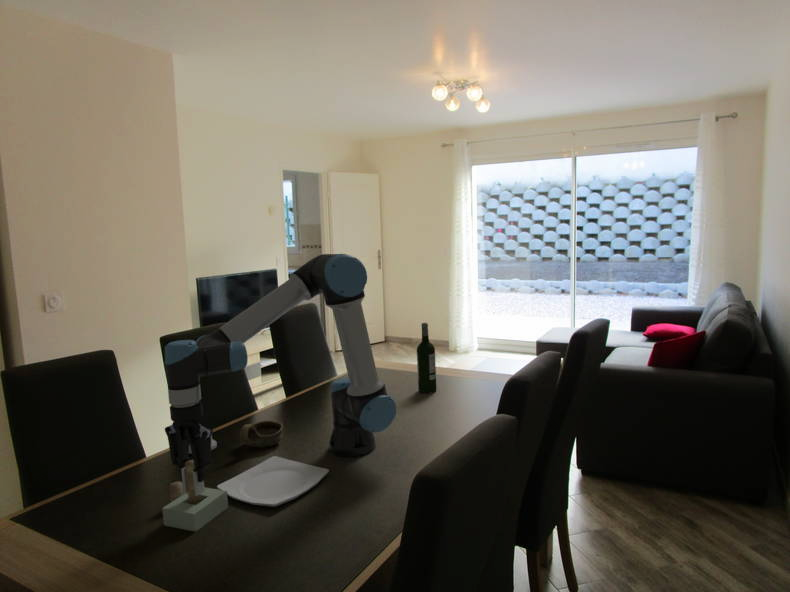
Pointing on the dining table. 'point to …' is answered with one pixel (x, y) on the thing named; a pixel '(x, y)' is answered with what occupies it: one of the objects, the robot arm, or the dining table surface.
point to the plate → (273, 482)
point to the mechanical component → (213, 445)
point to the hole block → (195, 510)
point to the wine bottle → (426, 363)
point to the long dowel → (191, 483)
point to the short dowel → (176, 490)
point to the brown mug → (262, 433)
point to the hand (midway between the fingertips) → (194, 492)
